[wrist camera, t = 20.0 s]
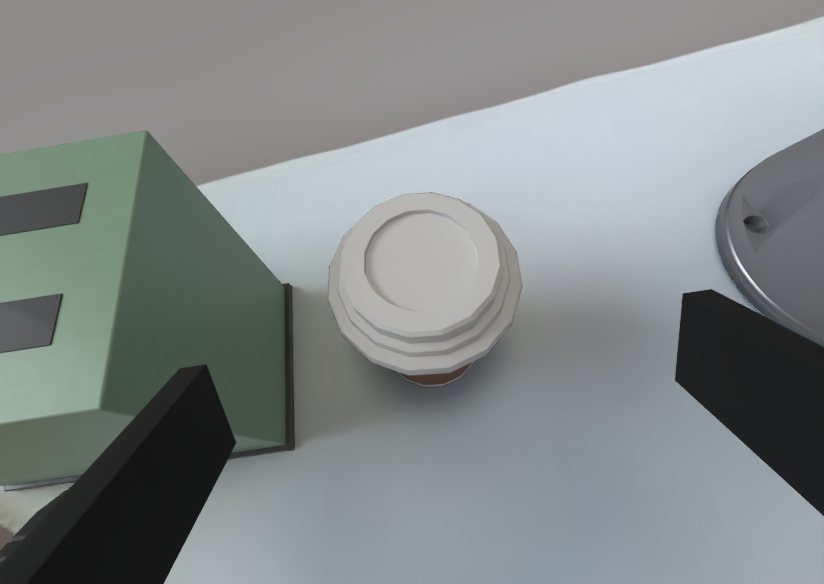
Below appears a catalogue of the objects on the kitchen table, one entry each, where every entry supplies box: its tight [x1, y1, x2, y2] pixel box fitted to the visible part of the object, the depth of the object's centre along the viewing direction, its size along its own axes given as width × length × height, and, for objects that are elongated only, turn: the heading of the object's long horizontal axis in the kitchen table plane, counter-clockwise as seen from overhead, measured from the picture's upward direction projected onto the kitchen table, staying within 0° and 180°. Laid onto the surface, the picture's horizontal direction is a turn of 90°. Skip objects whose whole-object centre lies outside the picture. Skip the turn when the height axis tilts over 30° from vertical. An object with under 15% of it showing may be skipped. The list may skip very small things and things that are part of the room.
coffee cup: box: [328, 192, 522, 387], centre depth 23 cm, size 9×9×12 cm
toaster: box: [0, 131, 294, 491], centre depth 22 cm, size 20×12×16 cm, turn 97°
